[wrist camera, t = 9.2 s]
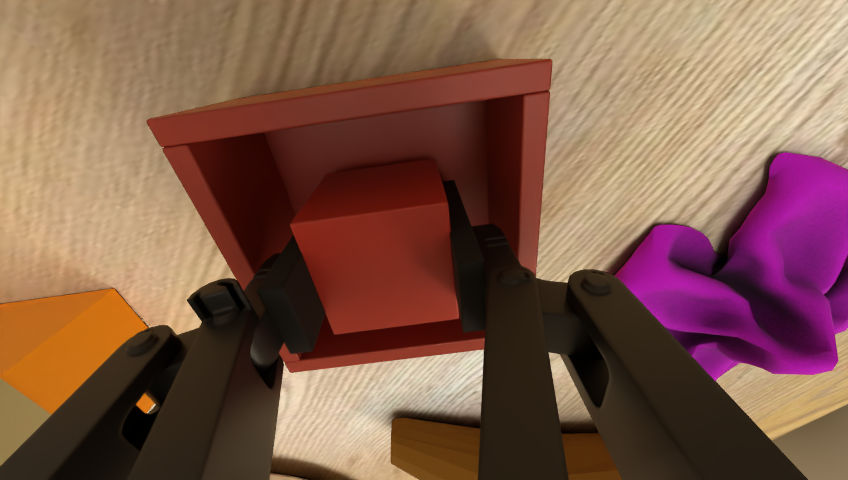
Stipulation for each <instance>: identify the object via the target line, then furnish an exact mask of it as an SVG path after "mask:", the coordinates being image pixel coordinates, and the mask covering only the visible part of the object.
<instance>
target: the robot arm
mask: <svg viewBox="0 0 848 480" xmlns="http://www.w3.org/2000/svg"><path fill="white" fill-rule="evenodd" d="M442 183H443V187H444V190H445V194H446V197H447V201H448V206H449V217H450V227H451V233H450V239H451V249H452V260H453V270H454V280H455V290H456V298H457V303H458V308H459V313H460V318H461V323H462V328H463V333H465V332H473V331H481V330H485V342H484V363H483V383H482V404H481V424H480V444H479V465H478V480H569V477H568V471H567V465H566V459H565V452H564V446H563V440H562V434H561V428H560V421H559V415H558V409H557V403H556V397H555V390H554V384H553V378H552V372H551V366H550V359H549V353H548V352H551V353H557V354H560V355H561V357H562V359H563V361H564V363H565V365H566V367H567V369H568V371H569V373H570V375H571V377H572V380H573V382H574V384H575V386H576V388H577V390H578V392H579V394H580V396H581V398H582V400H583V402H584V404H585V406H586V408H587V410H588V412H589V414H590V416H591V418H592V420H593V422H594V424H595V426H596V428H597V430H598V432H599V434H600V436H601V438H602V440H603V442H604V444H605V446H606V448H607V450H608V452H609V454H610V456H611V458H612V460H613V462H614V464H615V466H616V468H617V470H618V472H619V474H620V476H621V478H622V480H808V479H807V478H806V477H805V476H804V475H803V474H802V473H801V472H800V471H799V470H798V469H797V467H795V465H794V464H793V463H792V462H791V461H790V460H789V459H788V458H787V457H786V456H785V455H784V454H783V453H782V452H781V450H780V449H779V448H778V447H777V446H776V445H775V444H774V443H773V442H772V441H771V440H770V439H769V438H768V437H767V435H766V434H765V433H764V432H763V431H762V430H761V429H760V428H759V427H758V426H757V425H756V424H755V423H754V422H753V421H752V420H751V418H750V417H749V416H748V415H747V414H746V413H745V412H744V411H743V410H742V409H741V408H740V407H739V406H738V405H737V404H736V402H735V401H734V400H733V399H732V398H731V397H730V396H729V395H728V394H727V393H726V392H725V391H724V390H723V389H722V388H721V387H720V385H719V384H718V383H717V382H716V381H715V380H714V379H713V378H712V377H711V376H710V375H709V374H708V373H707V372H706V371H705V369H704V368H703V367H702V366H701V365H700V364H699V363H698V362H697V361H696V360H695V359H694V358H693V357H692V356H691V355H690V354H689V352H688V351H687V350H686V349H685V348H684V347H683V346H682V345H681V344H680V343H679V342H678V341H677V340H676V339H675V338H674V336H673V335H672V334H671V333H670V332H669V331H668V330H667V329H666V328H665V327H664V326H663V325H662V324H661V323H660V322H659V321H658V319H657V318H656V317H655V316H654V315H653V314H652V313H651V312H650V311H649V310H648V309H647V308H646V307H645V306H644V305H643V303H642V302H641V301H640V300H639V299H638V298H637V297H636V296H635V295H634V294H633V293H632V292H631V291H630V290H629V289H628V288H627V286H626V285H625V284H624V283H623V282H622V281H620V280H619V279H618V278H617V277H615V276H614V275H611V274H609V273H606V272H604V271H599V270H594V269H591V270H580V271H576V272H574V273H573V274H572V275H570V277H569V280H568V283H564V282H553V281H546V280H541V279H538V278H536V277H535V275H534V273H533V272H532V271H531V270H529V269H528V268H526V267H523V266H521V264H520V262H519V260H518V258H517V257H516V255H515V253H514V251H513V249H512V247H511V246H510V244H509V242H508V240H507V238H506V236H505V235H504V233H503V231H502V229H501V228H499V227H497V226H496V225H494V224H493V223H492V224H484V225H477V226H471V223H470V221H469V218H468V215H467V213H466V210H465V207H464V205H463V202H462V199H461V197H460V194H459V191H458V189H457V186H456V183H455V181H454V180H450V181H443V182H442ZM187 301H188V303H189V304H190V306H191V307H192V308H193V310H194V311H195V313H196V314H197V316H198V317H199V318H200V320H201V321H202V323H201V325H200V327H199V328H197V329H194V330H191V331H188V332H185V333H182V334H179V335H176V334H175V332H174V331H173V330H172V329H171V328H170V327H169V326H167V325H159V326H155V327H151V328H148V329H145V330H144V331H141V332H139V333H137V334H136V335H134V336H133V337H131V338H130V339H128V340H127V341H126V342H125V343H123V344H122V345H121V346H120V347H119V348H118V349H117V350H116V351H115V352H114V353H113V354H112V355H111V356H110V357H109V358H108V359H107V360H106V361H105V362H104V363H103V364H102V365H101V366H100V367H99V368H98V369H97V370H96V371H95V372H94V373H93V374H92V375H91V376H90V377H89V378H88V379H87V380H86V381H85V382H84V383H83V384H82V385H81V386H80V387H79V388H78V389H77V390H76V391H75V392H74V393H73V394H72V395H71V396H70V397H69V398H68V399H67V400H66V401H65V402H64V403H63V404H62V405H61V406H60V407H59V408H58V409H57V410H56V411H55V412H54V413H53V414H52V415H51V416H50V417H49V418H48V419H47V420H46V421H45V422H44V423H43V424H42V425H41V426H40V427H39V428H38V429H37V430H36V431H35V432H34V433H33V434H32V435H31V436H30V437H29V438H28V439H27V440H26V441H25V442H24V443H23V444H22V445H21V446H20V447H19V448H18V449H17V450H16V451H15V452H14V453H13V454H12V455H11V456H10V457H9V458H8V459H7V460H6V461H5V462H4V463H3V464H2V465H1V466H0V480H269V479H270V471H271V463H272V455H273V447H274V439H275V431H276V423H277V415H278V407H279V399H280V391H281V383H282V375H283V367H284V364H283V359H282V357H281V355H280V354H279V352H280V350H281V348H282V346H283V343H285V345H286V347H287V349H288V351H289V353H290V354H296V353H304V352H312V351H313V350H314V347H315V344H316V341H317V338H318V334H319V331H320V328H321V325H322V322H323V319H324V316H325V313H326V312H325V310H324V307H323V305H322V303H321V300H320V298H319V295H318V293H317V290H316V288H315V285H314V283H313V280H312V278H311V275H310V273H309V270H308V268H307V265H306V263H305V260H304V258H303V256H302V253H301V251H300V249H299V246H298V244H297V242H296V239H295V237H294V234H293V236H292V237H291V239H290V240H289V242H288V243H287V245H286V246H285V248H284V249H283V251H282V252H281V253H276V254H273V255H272V256H271V257H270V258H268V259H267V260H266V261H264V262H263V264H262V265H261V267H260V268H259V269H258V272H256V274H255V275H254V276H253V279H252V280H251V281H250V282H249V283H248V285H247V286H246V288H245V289H244V290H243V289H242V287H241V285H240V284H239V282H238V281H237V280H236V279H231V278H227V279H221V280H217V281H214V282H211V283H209V284H207V285H205V286H203V287H201V288H200V289H198V290H197V291H196V292H194V293H193V294H192V295H191V296H190V297H189V298H188V299H187ZM144 393H145V394H146V395H147V396H148V397H149V398H150V399H151V400H152V401H153V402H154V403H155V404H156V405H155V407H154V408H153V409H152V410H151V411H150V412H149V413H148V414H147V413H144V412H143V411H142V410H141V409H140V408H139V407H138V406H137V405H136V404H137V402H138V401H139V400H140V399H141V397H142V396H143V395H144Z"/></svg>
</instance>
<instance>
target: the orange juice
mask: <svg viewBox="0 0 848 480" xmlns="http://www.w3.org/2000/svg"><path fill="white" fill-rule="evenodd" d="M145 329H148V327H147V326H146V325H145V324H144V323H143V321H142V320H141V319H140V318H139V317H138V316H137V315H136V313H135V312H134V311H133V310H132V309H131V308H130V307H129V305H128V304H127V303H126V302H125V301H124V300H123V298H122V297H121V296H120V295H119V294H118V293H117V292H116V290H115V289H114V288H113V289H106V290H98V291H91V292H84V293H77V294H70V295H63V296H56V297H48V298H41V299H34V300H27V301H20V302H13V303H5V304H0V466H1V465H2V464H3V463H4V462H5V461H6V460H7V459H8V458H9V457H10V456H11V455H12V454H13V453H14V452H15V451H16V450H17V449H18V448H19V447H20V446H21V445H22V444H23V443H24V442H25V441H26V440H27V439H28V438H29V437H30V436H31V435H32V434H33V433H34V432H35V431H36V430H37V429H38V428H39V427H40V426H41V425H42V424H43V423H44V422H45V421H46V420H47V419H48V418H49V417H50V416H51V415H52V414H53V413H54V412H55V411H56V410H57V409H58V408H59V407H60V406H61V405H62V404H63V403H64V402H65V401H66V400H67V399H68V398H69V397H70V396H71V395H72V394H73V393H74V392H75V391H76V390H77V389H78V388H79V387H80V386H81V385H82V384H83V383H84V382H85V381H86V380H87V379H88V378H89V377H90V376H91V375H92V374H93V373H94V372H95V371H96V370H97V369H98V368H99V367H100V366H101V365H102V364H103V363H104V362H105V361H106V360H107V359H108V358H109V357H110V356H111V355H112V354H113V353H114V352H115V351H116V350H117V349H118V348H119V347H120V346H121V345H122V344H123V343H125V342H126V341H127V340H128V339H130V338H131V337H133V336H134V335H136V334H137V333H139V332H141V331H144V330H145ZM153 404H154V402H153V401H152V400H151V399H150V398H149V397H148V396H147V395H146V394H145V393H144V395H143V396H142V397H141V399H140V400H139V401H138V402H137V404H136V405H137V406H138V407H139V408H140V409H141V410H142V411H143V412H144V413H147V412H148V411H149V409H150V408H151V406H152V405H153Z"/></svg>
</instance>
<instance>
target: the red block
mask: <svg viewBox="0 0 848 480" xmlns="http://www.w3.org/2000/svg"><path fill="white" fill-rule="evenodd" d="M290 227H291V229H292V232H293V234H294V237H295V239H296V242H297V244H298V246H299V249H300V251H301V253H302V256H303V258H304V260H305V263H306V265H307V268H308V270H309V273H310V275H311V278H312V280H313V283H314V285H315V288H316V290H317V293H318V295H319V298H320V300H321V303H322V305H323V307H324V310H325V312H326V316H327V318H328V321H329V323H330V326H331V328H332V331H333V333H334V334H343V333H351V332H359V331H367V330H375V329H382V328H390V327H398V326H406V325H414V324H422V323H430V322H438V321H445V320H453V319H458V318H459V310H458V303H457V298H456V290H455V280H454V270H453V260H452V249H451V239H450V233H451V227H450V217H449V206H448V201H447V197H446V194H445V190H444V187H443V183H442V180H441V176H440V173H439V169H438V165H437V162H436V159H427V160H420V161H413V162H406V163H399V164H392V165H385V166H378V167H371V168H364V169H357V170H350V171H343V172H336V173H329V174H326V176H325V177H324V178H323V180H322V181H321V182H320V184H319V185H318V187H317V188H316V189H315V191H314V192H313V193H312V195H311V196H310V197H309V199H308V200H307V202H306V203H305V204H304V206H303V207H302V208H301V210H300V211H299V212H298V214H297V215H296V217H295V218H294V219H293V221H292V222H291V223H290Z"/></svg>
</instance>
